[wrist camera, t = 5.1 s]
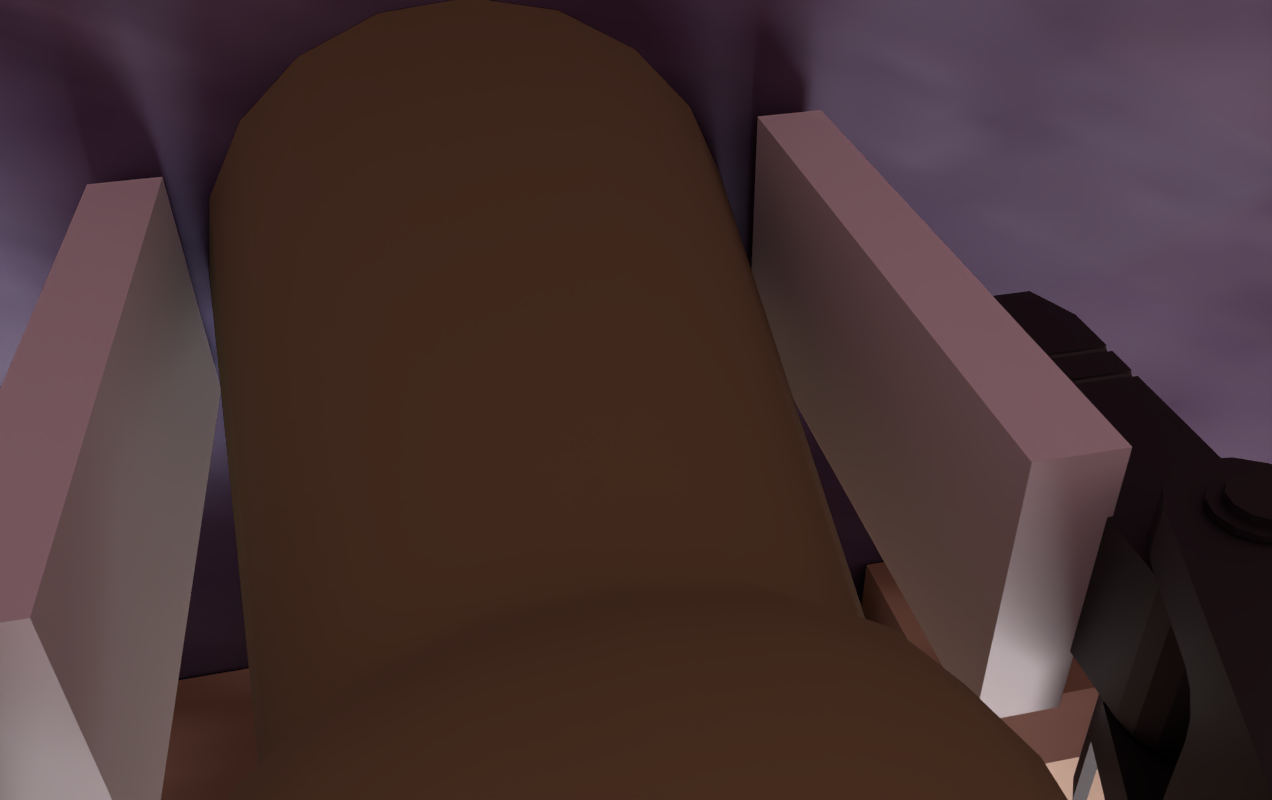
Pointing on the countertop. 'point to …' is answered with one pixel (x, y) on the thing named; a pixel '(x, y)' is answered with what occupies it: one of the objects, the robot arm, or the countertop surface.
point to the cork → (536, 451)
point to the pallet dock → (222, 703)
